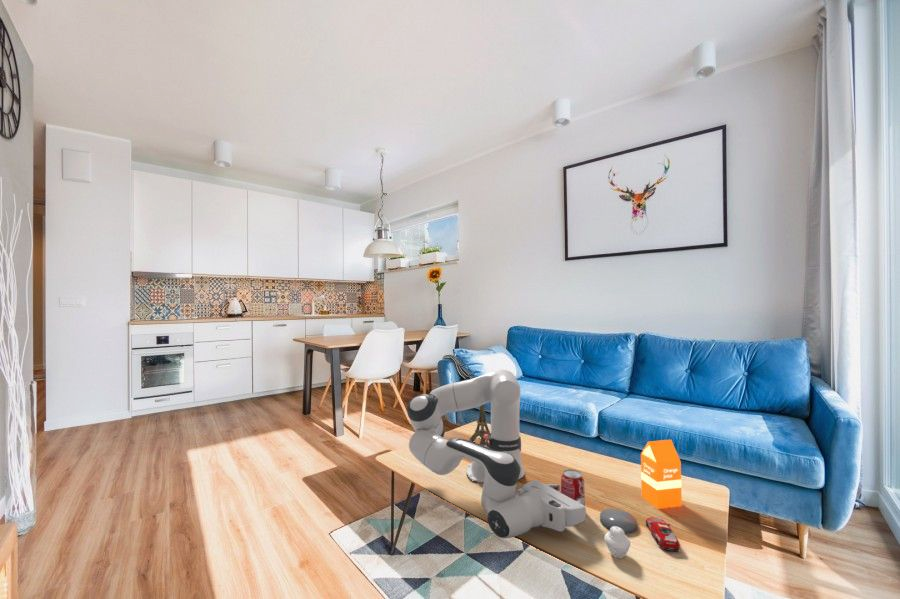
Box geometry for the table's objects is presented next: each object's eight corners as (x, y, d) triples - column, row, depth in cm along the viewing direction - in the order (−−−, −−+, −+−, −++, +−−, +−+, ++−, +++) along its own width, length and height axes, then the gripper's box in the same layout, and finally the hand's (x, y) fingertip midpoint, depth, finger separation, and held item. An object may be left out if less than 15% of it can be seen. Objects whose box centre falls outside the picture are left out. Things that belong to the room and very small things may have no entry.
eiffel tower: (466, 442, 176) (466, 389, 176) (482, 436, 183) (481, 386, 183) (482, 448, 168) (481, 393, 168) (498, 442, 175) (497, 390, 175)
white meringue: (605, 559, 95) (604, 531, 95) (604, 544, 100) (603, 518, 101) (631, 564, 92) (631, 536, 93) (629, 549, 98) (629, 523, 98)
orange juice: (682, 506, 118) (680, 443, 119) (657, 509, 117) (656, 446, 117) (664, 494, 126) (663, 435, 126) (641, 496, 125) (639, 437, 125)
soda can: (581, 505, 120) (581, 468, 120) (587, 518, 113) (586, 479, 113) (559, 505, 120) (558, 468, 120) (563, 517, 113) (563, 478, 113)
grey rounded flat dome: (609, 534, 105) (609, 529, 105) (594, 514, 115) (594, 509, 115) (644, 533, 105) (644, 527, 105) (626, 513, 115) (625, 508, 115)
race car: (643, 523, 110) (643, 509, 110) (663, 525, 109) (663, 511, 109) (659, 552, 97) (659, 536, 97) (682, 554, 96) (681, 539, 96)
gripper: (514, 501, 117) (545, 489, 124) (566, 535, 99) (598, 518, 107) (513, 481, 117) (544, 470, 124) (565, 511, 99) (597, 496, 107)
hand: (569, 492), depth 115 cm, fingers open, 8 cm apart
